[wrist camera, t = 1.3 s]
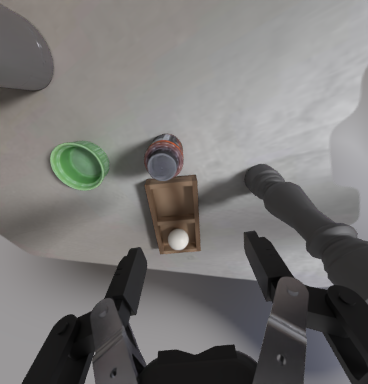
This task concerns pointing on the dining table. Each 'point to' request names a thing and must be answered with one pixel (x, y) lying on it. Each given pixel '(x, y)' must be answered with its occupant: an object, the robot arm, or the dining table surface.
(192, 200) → the holder
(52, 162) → the ramekin
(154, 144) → the supplement bottle
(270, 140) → the dining table surface
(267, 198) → the grey turned candlestick
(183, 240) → the egg
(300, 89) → the dining table surface
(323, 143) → the dining table surface
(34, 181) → the dining table surface
